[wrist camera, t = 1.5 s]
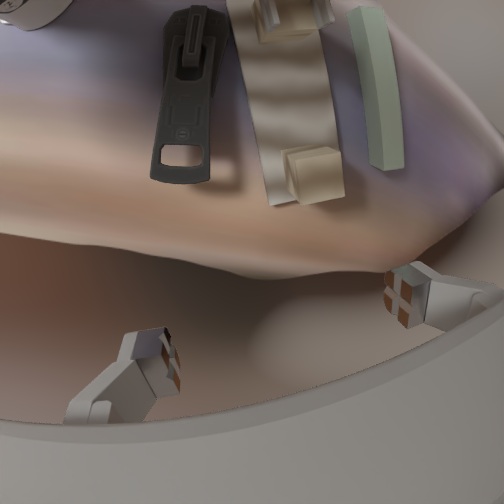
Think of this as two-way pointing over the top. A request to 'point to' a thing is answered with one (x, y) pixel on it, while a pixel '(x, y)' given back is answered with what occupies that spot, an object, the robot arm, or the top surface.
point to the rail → (378, 87)
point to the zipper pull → (189, 89)
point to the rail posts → (289, 96)
